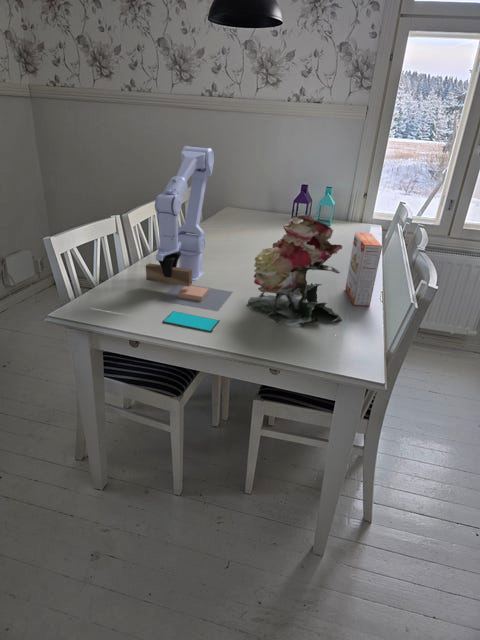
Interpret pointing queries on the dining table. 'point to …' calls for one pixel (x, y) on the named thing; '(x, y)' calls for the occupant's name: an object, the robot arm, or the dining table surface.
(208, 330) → the smartphone
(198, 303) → the mat
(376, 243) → the cracker box
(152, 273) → the brown wooden plank
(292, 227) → the rose bouquet
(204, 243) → the robot arm
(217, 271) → the dining table surface
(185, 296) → the tile
